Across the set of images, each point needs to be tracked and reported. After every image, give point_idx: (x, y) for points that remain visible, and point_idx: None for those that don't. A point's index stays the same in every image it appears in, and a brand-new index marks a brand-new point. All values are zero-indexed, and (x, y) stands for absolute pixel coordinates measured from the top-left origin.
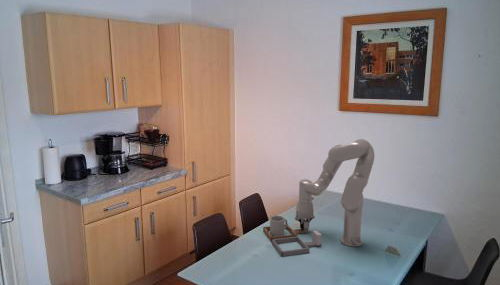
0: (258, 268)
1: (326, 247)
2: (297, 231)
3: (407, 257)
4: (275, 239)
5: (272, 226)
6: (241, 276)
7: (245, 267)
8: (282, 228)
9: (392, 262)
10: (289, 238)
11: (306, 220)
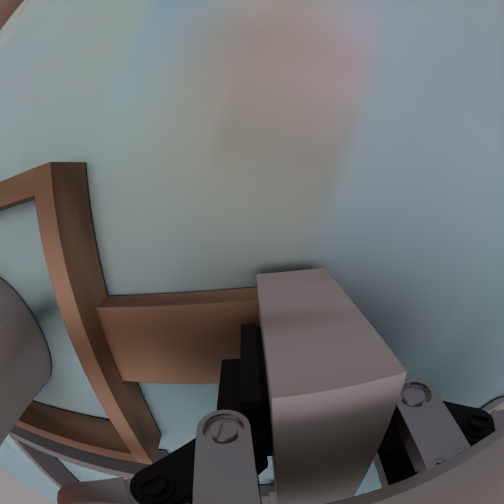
0: (44, 487)
1: None
2: (176, 368)
3: None
4: (20, 439)
5: None
6: (25, 482)
7: (14, 468)
8: (5, 436)
9: None
10: (94, 467)
11: (372, 456)
